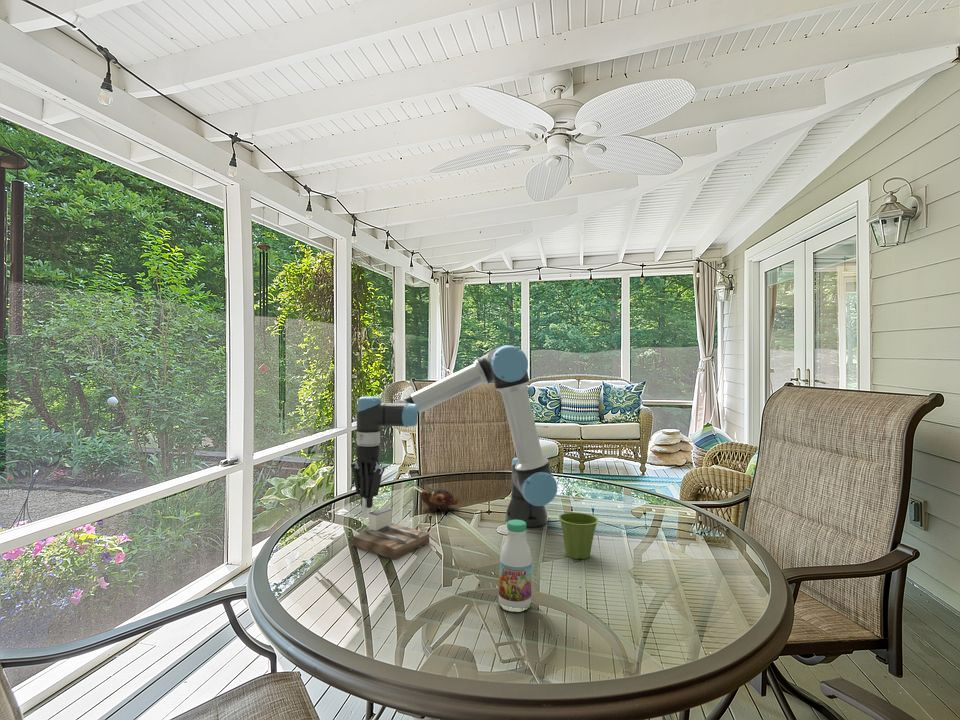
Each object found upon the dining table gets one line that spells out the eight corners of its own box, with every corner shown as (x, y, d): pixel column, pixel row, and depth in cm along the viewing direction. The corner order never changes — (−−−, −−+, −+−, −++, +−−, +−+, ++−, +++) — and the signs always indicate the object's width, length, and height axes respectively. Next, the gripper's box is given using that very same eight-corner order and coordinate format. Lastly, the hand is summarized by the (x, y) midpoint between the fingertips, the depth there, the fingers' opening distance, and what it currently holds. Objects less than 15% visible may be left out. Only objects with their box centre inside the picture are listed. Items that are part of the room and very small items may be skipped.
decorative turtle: (415, 508, 190) (417, 487, 191) (452, 506, 197) (453, 486, 197) (424, 514, 182) (425, 492, 182) (461, 512, 188) (463, 491, 189)
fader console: (429, 542, 156) (429, 530, 155) (394, 559, 142) (394, 545, 142) (389, 531, 165) (389, 519, 165) (353, 546, 151) (353, 533, 151)
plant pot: (599, 550, 153) (600, 514, 153) (595, 565, 141) (596, 526, 141) (561, 545, 157) (562, 509, 156) (554, 559, 145) (555, 521, 145)
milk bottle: (496, 597, 121) (498, 516, 121) (527, 597, 122) (529, 516, 122) (500, 614, 113) (502, 527, 113) (533, 613, 114) (536, 527, 114)
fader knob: (391, 529, 158) (392, 508, 158) (375, 535, 152) (376, 514, 152) (384, 527, 160) (384, 507, 160) (368, 533, 154) (369, 512, 154)
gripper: (345, 443, 160) (343, 516, 160) (374, 448, 153) (372, 524, 153) (362, 440, 166) (360, 510, 166) (391, 445, 159) (389, 517, 159)
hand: (366, 516), depth 159 cm, fingers closed
